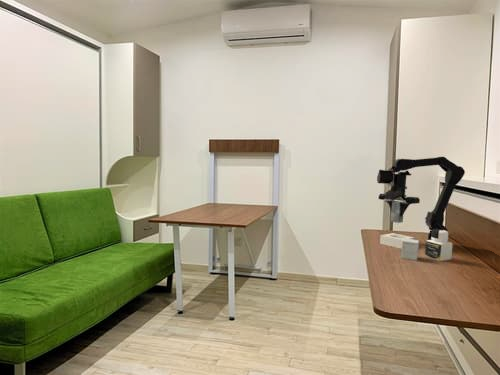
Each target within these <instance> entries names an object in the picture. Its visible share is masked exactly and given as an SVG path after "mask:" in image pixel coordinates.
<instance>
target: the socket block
mask: <svg viewBox="0 0 500 375" xmlns="http://www.w3.org/2000/svg"><path fill="white" fill-rule="evenodd" d="M404 238H405V239H413V240H415V237H414V236H408V235H404V234H399V233H394V232H392V233H387V234H380V242H379V244H380V245H385V246H389V247H392V248H397V249H401V250H402V242H403V239H404Z"/></svg>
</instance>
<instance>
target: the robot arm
mask: <svg viewBox="0 0 500 375" xmlns="http://www.w3.org/2000/svg"><path fill="white" fill-rule="evenodd" d="M431 166H439V167H440V168H441V170H443V171H444V172H445V174H444V175H445V176H444V184H443V187H442V189H441V191H440V194H439V196H438V199H437V201H436V204H435V206H434V209H433V210H432V211H427V214H426V216H425V218H424V219H425V226H427V228H428V229H429V232H428V236H427V240H432V239H431V236H432V230H434V229H441V230H446V231H447V232H448V231H449V230H448V229H447V227H446V226H445V225H444V221H445V212H446V209H447V206H448V204H449V202H450V199H451V197H452V195H453V192H454V190H455V188H456V186H457V185H458V184H459V182H461V180H462V179H463V178H464V176H465V173H466V171H465V169H464V167H462V166H460V165H457V164H455V163H454V162H452V161H451V160H449V159H448V158H446V156H437V157H429V158H418V159H417V158H416V159H411V158H397V159H395V160H394V161H393V165H392V166H391V167H390V169H388V170H386V169H378V173H377V176H376V181H377V182H376V183H377V184H383V185H384V184H385V185H390V184H391V183H393V184H392V185H391V187H390V189H389V190H387V191H386V192H385V193H379V195H378V200H381V201H384V202H385V203H386V204H388V207H389V209H390V211H392V201H399V202H403V203H400V204H401V212H400V216H401V217H402V216H403V217H404V214H405V212H406V210H407V209H408V208H409V206H411V205H412V204H414V205H415V204H420V202H421V200H420V198H419V197H418V196H407V194H406V190H407V189H408V186H407V176H411V177H412V173H410V172H409V170H412V169H414V168H420V167H431Z"/></svg>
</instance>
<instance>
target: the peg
mask: <svg viewBox="0 0 500 375" xmlns="http://www.w3.org/2000/svg"><path fill="white" fill-rule="evenodd" d="M400 203H403V201H400V200H394V201H392V211H391V210H390V211H391V215H390V222H393V223H397V224H400V223H403V222H404V215H403V216H402V217H401V216H400V212H401V204H400Z"/></svg>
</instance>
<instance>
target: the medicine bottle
mask: <svg viewBox="0 0 500 375" xmlns="http://www.w3.org/2000/svg"><path fill="white" fill-rule="evenodd" d="M431 239H432V240H428V239H427V240H425V250H424V257H425V258H429V259H432V260H434V261H438V262H442V261H450V260H452V255H453V254H452V253H453V252H452V251H453V243H452V242H450V241H449V232H448V231H446V230H441V229H434V230H432V236H431Z"/></svg>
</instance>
